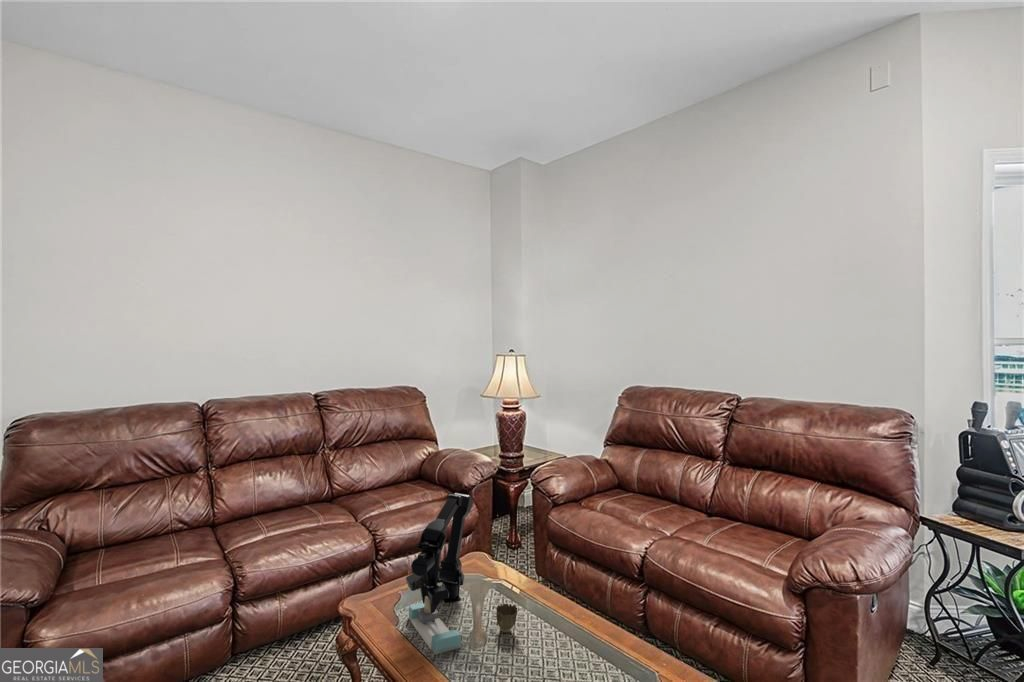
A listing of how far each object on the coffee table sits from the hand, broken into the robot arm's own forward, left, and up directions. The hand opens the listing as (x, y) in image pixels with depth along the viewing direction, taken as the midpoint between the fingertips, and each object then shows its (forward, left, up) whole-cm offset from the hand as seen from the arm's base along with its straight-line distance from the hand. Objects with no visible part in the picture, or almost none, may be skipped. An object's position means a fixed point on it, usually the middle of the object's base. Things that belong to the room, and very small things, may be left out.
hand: (428, 608), depth 183 cm
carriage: (0, 0, -4) cm, 4 cm away
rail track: (0, +5, -6) cm, 8 cm away
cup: (-23, +15, -6) cm, 28 cm away
